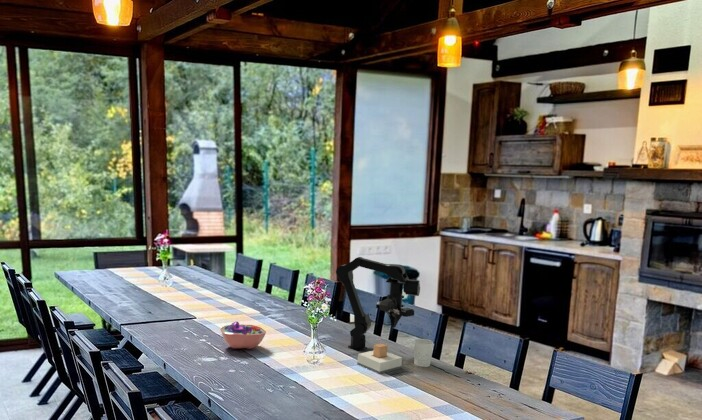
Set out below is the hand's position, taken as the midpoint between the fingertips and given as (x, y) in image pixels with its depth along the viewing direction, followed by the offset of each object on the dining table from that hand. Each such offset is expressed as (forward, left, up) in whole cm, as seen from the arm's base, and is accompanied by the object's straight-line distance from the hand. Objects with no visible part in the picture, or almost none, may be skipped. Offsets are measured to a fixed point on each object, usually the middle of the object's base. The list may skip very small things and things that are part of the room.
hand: (393, 327), depth 245 cm
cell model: (-40, -53, -12) cm, 67 cm away
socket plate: (+9, -17, -12) cm, 23 cm away
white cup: (+17, +1, -12) cm, 21 cm away
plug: (+9, -17, -11) cm, 22 cm away
